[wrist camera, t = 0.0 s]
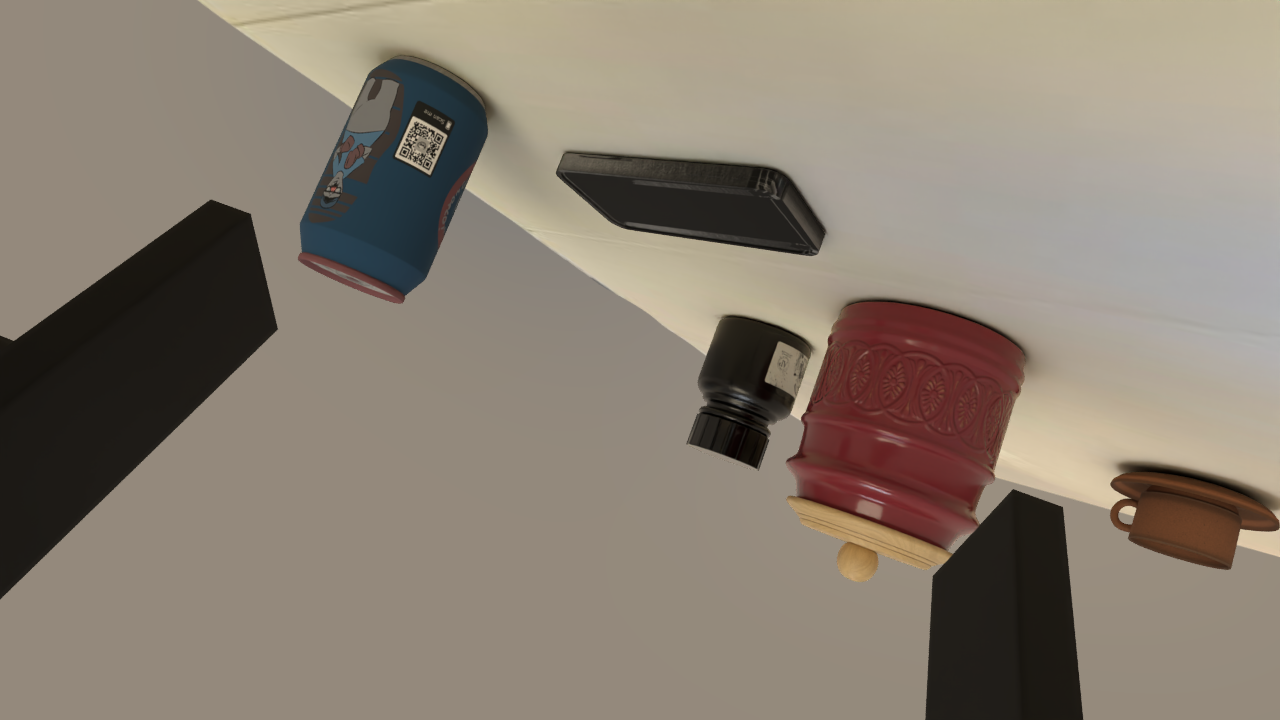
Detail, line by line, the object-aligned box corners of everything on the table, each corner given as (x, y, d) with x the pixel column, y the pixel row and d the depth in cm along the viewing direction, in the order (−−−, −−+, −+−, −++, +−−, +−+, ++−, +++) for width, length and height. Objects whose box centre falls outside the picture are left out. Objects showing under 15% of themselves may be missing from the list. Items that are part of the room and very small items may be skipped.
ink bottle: (810, 360, 74) (770, 478, 72) (723, 332, 76) (682, 446, 74) (815, 335, 64) (769, 470, 63) (716, 304, 66) (668, 434, 65)
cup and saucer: (1192, 502, 73) (1176, 564, 72) (1085, 457, 71) (1067, 521, 70) (1324, 516, 61) (1306, 591, 60) (1199, 463, 59) (1179, 539, 59)
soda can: (474, 131, 47) (397, 308, 46) (366, 69, 44) (279, 257, 42) (514, 106, 41) (427, 308, 40) (393, 31, 38) (293, 249, 36)
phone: (824, 258, 43) (616, 228, 52) (830, 240, 43) (622, 213, 52) (774, 188, 37) (547, 168, 45) (781, 168, 37) (553, 151, 45)
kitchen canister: (935, 370, 61) (868, 583, 59) (804, 306, 57) (726, 531, 55) (1076, 369, 49) (999, 637, 47) (922, 286, 45) (828, 575, 43)
